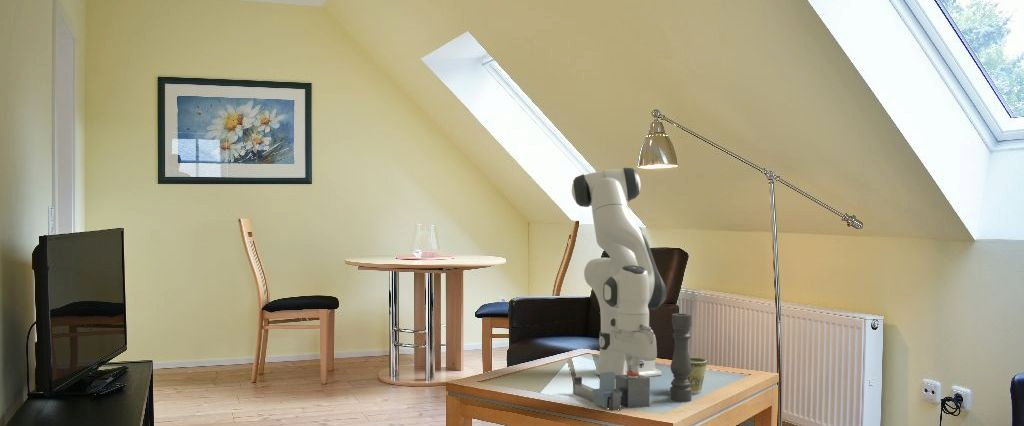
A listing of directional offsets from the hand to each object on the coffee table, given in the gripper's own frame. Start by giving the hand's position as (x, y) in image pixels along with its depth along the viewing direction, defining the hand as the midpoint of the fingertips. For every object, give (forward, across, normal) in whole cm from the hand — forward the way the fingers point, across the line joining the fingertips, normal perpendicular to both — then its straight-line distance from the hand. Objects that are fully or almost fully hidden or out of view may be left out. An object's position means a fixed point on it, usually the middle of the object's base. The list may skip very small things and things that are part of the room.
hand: (632, 371), depth 253 cm
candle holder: (+10, +1, -17) cm, 20 cm away
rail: (+9, +7, +8) cm, 14 cm away
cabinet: (+9, 0, 0) cm, 9 cm away
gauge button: (+6, 0, 0) cm, 6 cm away
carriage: (+9, 0, +8) cm, 12 cm away
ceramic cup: (+10, +10, -27) cm, 30 cm away
